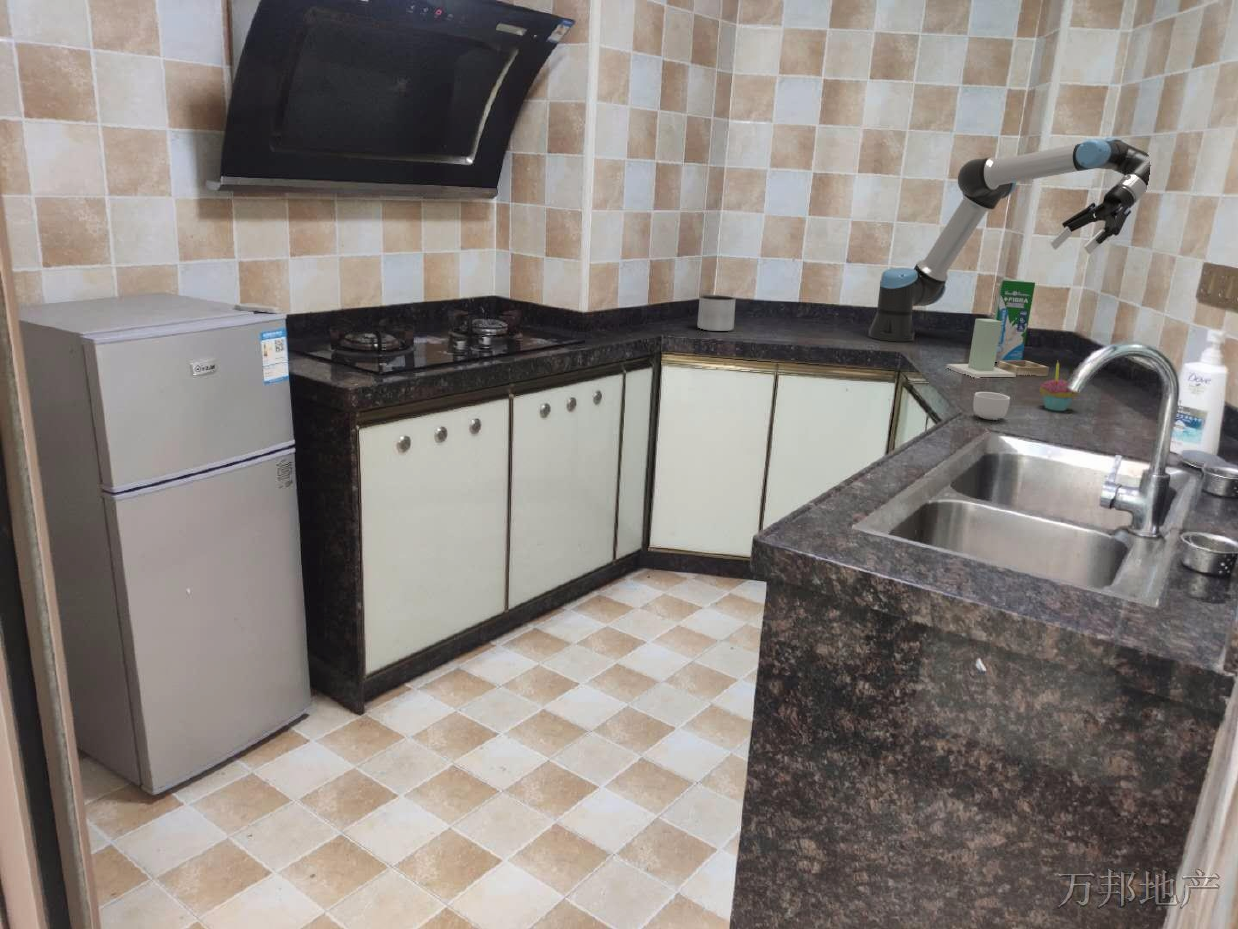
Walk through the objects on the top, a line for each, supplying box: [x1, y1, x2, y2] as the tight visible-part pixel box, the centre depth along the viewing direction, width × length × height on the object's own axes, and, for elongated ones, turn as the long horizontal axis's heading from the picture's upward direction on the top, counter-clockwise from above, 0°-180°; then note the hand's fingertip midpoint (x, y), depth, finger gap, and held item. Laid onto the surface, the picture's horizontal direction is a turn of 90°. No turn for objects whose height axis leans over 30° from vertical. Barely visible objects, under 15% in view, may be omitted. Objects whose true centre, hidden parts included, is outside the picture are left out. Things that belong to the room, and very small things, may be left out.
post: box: [967, 318, 1002, 371], centre depth 265 cm, size 5×5×14 cm
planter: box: [696, 294, 736, 332], centre depth 320 cm, size 12×13×11 cm
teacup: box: [972, 391, 1011, 419], centre depth 215 cm, size 10×8×5 cm
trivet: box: [946, 363, 1017, 379], centre depth 267 cm, size 14×13×1 cm
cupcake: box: [1039, 360, 1078, 412], centre depth 226 cm, size 9×8×12 cm
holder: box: [995, 359, 1050, 377], centre depth 270 cm, size 10×10×2 cm
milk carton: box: [993, 279, 1036, 362], centre depth 283 cm, size 9×9×25 cm
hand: (1069, 248), depth 262 cm, fingers open, 13 cm apart
